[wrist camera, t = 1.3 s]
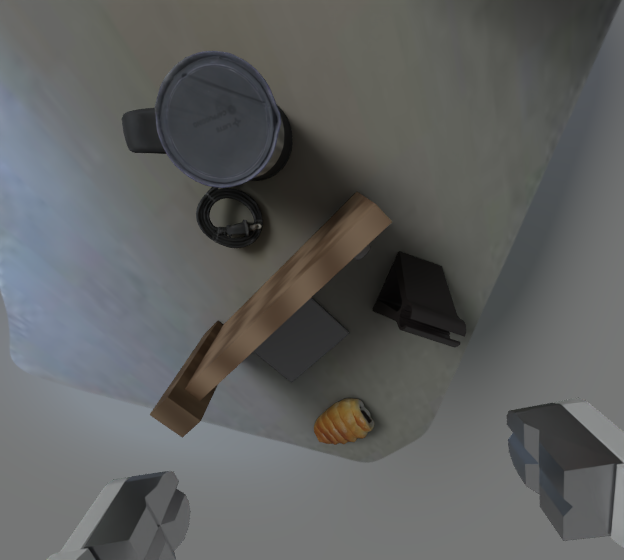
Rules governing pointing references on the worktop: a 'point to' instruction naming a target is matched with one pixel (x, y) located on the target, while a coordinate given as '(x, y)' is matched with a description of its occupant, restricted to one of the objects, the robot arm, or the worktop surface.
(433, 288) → the phone stand
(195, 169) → the milk frother
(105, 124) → the worktop surface
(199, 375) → the door panel
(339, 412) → the pastry
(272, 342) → the door mat
